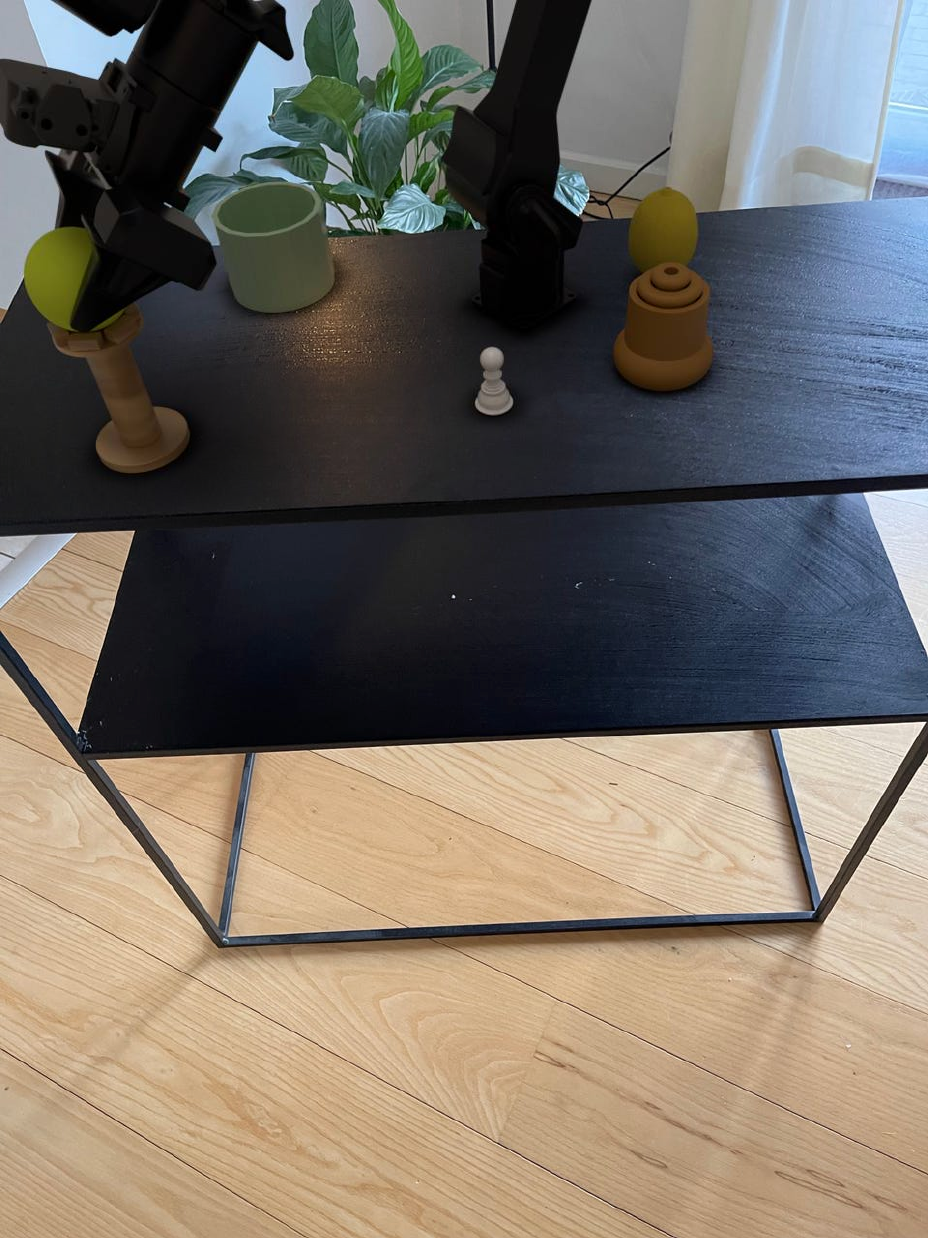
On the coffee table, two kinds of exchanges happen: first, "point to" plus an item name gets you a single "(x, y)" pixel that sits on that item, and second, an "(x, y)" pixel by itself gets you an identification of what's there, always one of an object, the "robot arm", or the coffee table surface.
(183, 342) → the coffee table surface
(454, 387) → the coffee table surface
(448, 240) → the coffee table surface
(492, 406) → the chess pawn
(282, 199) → the cup
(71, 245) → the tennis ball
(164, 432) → the chess rook
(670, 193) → the lemon
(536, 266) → the robot arm
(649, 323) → the ornamental finial
